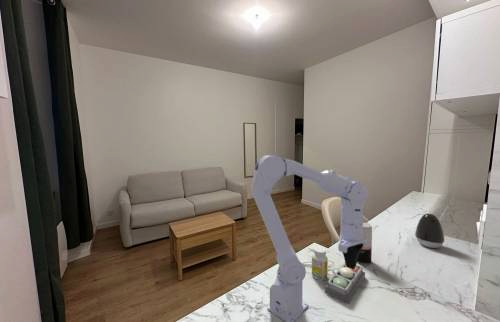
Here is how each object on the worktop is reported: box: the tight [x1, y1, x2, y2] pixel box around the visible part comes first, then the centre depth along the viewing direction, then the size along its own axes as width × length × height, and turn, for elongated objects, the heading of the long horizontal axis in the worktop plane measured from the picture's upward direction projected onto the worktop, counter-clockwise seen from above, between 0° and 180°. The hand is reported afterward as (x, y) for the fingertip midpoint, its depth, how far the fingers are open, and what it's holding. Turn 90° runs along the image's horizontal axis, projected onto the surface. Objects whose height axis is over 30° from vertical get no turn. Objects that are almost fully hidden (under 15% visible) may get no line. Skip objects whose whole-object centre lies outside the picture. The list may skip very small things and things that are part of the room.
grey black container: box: [357, 221, 373, 265], centre depth 81 cm, size 7×6×15 cm
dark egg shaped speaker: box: [414, 213, 445, 249], centre depth 93 cm, size 10×10×15 cm
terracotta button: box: [345, 265, 358, 273], centre depth 70 cm, size 4×4×2 cm
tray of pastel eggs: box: [324, 262, 366, 305], centre depth 66 cm, size 17×7×4 cm, turn 136°
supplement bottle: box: [311, 246, 329, 281], centre depth 71 cm, size 5×5×10 cm
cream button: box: [339, 266, 353, 279], centre depth 66 cm, size 4×4×2 cm
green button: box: [333, 278, 347, 289], centre depth 63 cm, size 4×4×2 cm
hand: (350, 267), depth 59 cm, fingers closed
